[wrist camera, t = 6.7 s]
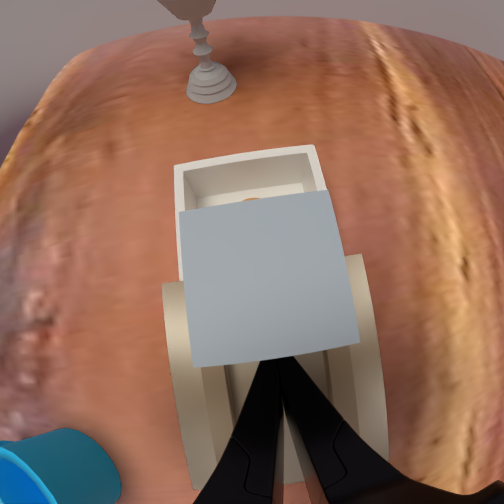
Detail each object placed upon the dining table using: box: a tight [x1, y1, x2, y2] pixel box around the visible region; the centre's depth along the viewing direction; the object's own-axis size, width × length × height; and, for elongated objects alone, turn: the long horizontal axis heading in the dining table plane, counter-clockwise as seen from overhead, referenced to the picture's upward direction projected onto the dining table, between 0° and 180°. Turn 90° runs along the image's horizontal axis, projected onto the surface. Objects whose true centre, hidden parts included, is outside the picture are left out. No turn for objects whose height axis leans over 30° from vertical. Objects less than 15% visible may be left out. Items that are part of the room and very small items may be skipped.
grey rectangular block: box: [179, 190, 360, 368], centre depth 10 cm, size 4×4×8 cm
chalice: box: [157, 0, 237, 104], centre depth 18 cm, size 7×7×18 cm
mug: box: [0, 428, 121, 504], centre depth 13 cm, size 12×8×8 cm
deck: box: [162, 254, 389, 490], centre depth 15 cm, size 11×10×8 cm
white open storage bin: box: [174, 144, 327, 281], centre depth 20 cm, size 8×9×4 cm
